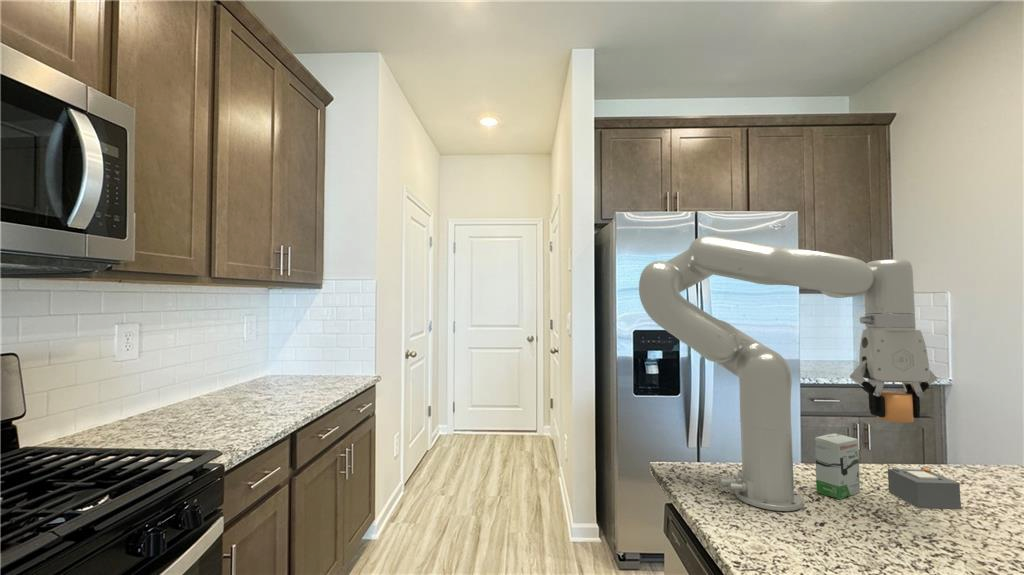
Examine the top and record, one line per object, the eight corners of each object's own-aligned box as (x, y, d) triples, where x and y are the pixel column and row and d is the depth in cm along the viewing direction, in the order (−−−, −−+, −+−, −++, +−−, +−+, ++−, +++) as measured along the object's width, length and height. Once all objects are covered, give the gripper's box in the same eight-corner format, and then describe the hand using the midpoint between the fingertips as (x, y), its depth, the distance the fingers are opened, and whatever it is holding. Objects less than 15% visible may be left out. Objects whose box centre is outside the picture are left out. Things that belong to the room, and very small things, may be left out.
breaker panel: (918, 507, 92) (916, 479, 92) (888, 491, 100) (887, 465, 100) (961, 508, 91) (959, 480, 91) (928, 493, 99) (926, 466, 99)
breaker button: (920, 499, 94) (919, 477, 94) (907, 492, 97) (906, 471, 97) (939, 500, 93) (938, 477, 94) (925, 493, 97) (924, 471, 97)
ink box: (839, 500, 95) (837, 443, 96) (815, 492, 100) (812, 437, 100) (862, 492, 99) (859, 437, 100) (837, 485, 104) (834, 432, 104)
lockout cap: (890, 422, 86) (888, 395, 86) (869, 415, 91) (868, 390, 92) (921, 422, 85) (920, 395, 86) (899, 416, 91) (898, 390, 91)
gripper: (855, 323, 86) (860, 420, 85) (954, 323, 85) (959, 421, 84) (832, 322, 94) (835, 411, 93) (921, 322, 92) (926, 412, 91)
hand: (894, 415), depth 88 cm, fingers closed on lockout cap, 5 cm apart
